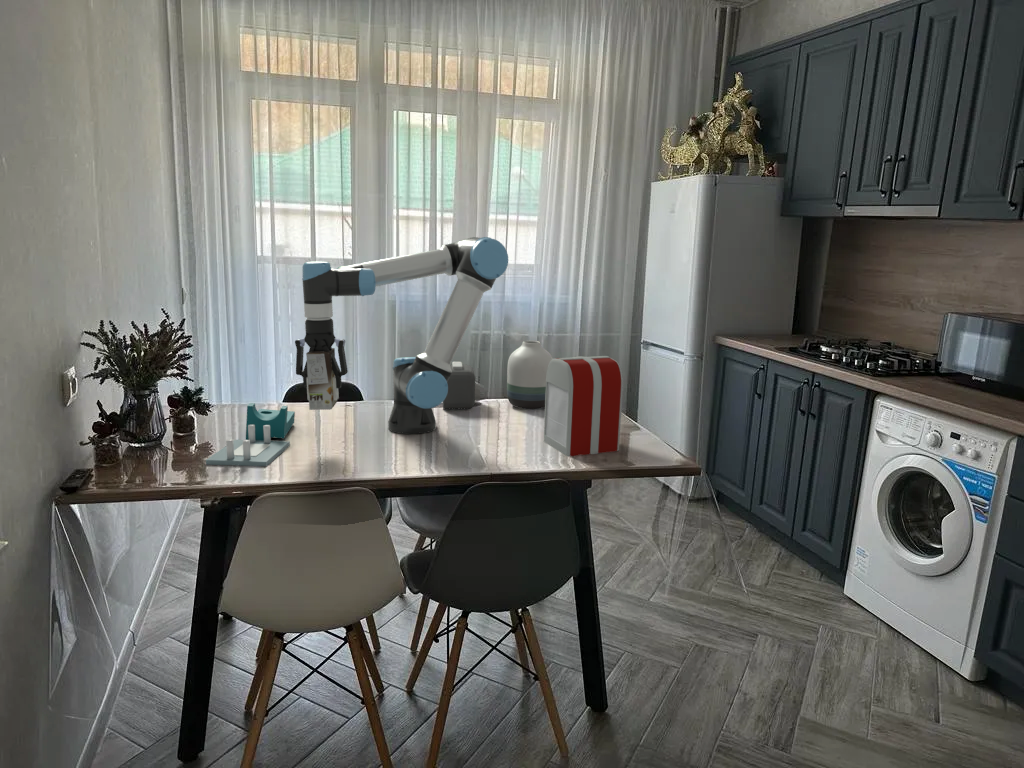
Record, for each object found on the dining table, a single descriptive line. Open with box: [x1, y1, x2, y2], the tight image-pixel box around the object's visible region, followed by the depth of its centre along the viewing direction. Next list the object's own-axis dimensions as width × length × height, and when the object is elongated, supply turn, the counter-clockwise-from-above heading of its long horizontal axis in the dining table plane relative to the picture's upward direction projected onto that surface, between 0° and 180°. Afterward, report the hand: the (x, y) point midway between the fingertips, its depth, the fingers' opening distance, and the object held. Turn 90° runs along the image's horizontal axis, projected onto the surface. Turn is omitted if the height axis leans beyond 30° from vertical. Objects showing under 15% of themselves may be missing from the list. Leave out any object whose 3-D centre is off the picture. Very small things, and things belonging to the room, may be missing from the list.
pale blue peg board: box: [205, 425, 291, 467], centre depth 193 cm, size 16×19×6 cm
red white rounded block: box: [543, 355, 624, 457], centre depth 207 cm, size 16×18×27 cm
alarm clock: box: [442, 361, 476, 410], centre depth 254 cm, size 16×11×16 cm
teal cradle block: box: [245, 402, 296, 441], centre depth 214 cm, size 18×11×10 cm, turn 8°
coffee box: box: [305, 347, 338, 411], centre depth 197 cm, size 9×6×16 cm
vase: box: [506, 340, 554, 410], centre depth 255 cm, size 17×17×24 cm
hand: (323, 399), depth 198 cm, fingers closed on coffee box, 7 cm apart
